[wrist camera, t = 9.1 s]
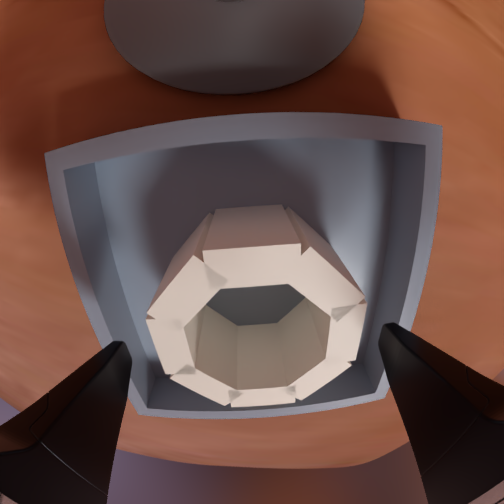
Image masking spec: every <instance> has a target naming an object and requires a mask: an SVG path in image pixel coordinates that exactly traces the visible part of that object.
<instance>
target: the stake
mask: <svg viewBox="0 0 504 504" xmlns="http://www.w3.org/2000/svg"><path fill="white" fill-rule="evenodd" d="M364 3H365V0H105V2H104V20H105V25H106V29H107V32H108V35H109V37H110V40H111V41H112V43H113V45H114V46H115V48H116V50H117V51H118V52H119V53H120V54H121V55H122V57H123V58H124V59H125V60H126V61H127V62H129V63H130V64H131V65H132V66H134V67H135V68H136V69H137V70H139V71H141V72H142V73H144V74H146V75H148V76H149V77H151V78H153V79H155V80H157V81H160V82H162V83H164V84H167V85H169V86H172V87H175V88H179V89H182V90H186V91H191V92H197V93H202V94H215V95H241V94H249V93H258V92H263V91H267V90H272V89H277V88H280V87H283V86H286V85H289V84H292V83H295V82H297V81H299V80H301V79H303V78H306V77H308V76H310V75H311V74H313V73H315V72H316V71H318V70H320V69H322V68H323V67H324V66H326V65H327V64H328V63H330V62H331V61H332V60H334V59H335V58H336V57H337V56H339V55H340V54H341V52H342V51H343V50H344V49H345V48H346V47H347V46H348V45H349V44H350V42H351V41H352V39H353V38H354V36H355V35H356V33H357V31H358V29H359V26H360V24H361V21H362V17H363V13H364Z"/></svg>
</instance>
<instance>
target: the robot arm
mask: <svg viewBox="0 0 504 504" xmlns="http://www.w3.org/2000/svg"><path fill="white" fill-rule="evenodd" d="M378 347H379V351H380V354H381V358H382V361H383V365H384V369H385V372H386V376H387V380H388V383H389V385H390V388H391V391H392V393H393V396H394V398H395V401H396V404H397V406H398V409H399V412H400V415H401V417H402V420H403V423H404V426H405V429H406V431H407V434H408V437H409V440H410V443H411V446H412V449H413V452H414V455H415V458H416V461H417V465H418V468H419V471H420V475H421V479H422V482H423V486H424V489H425V493H426V497H427V500H428V504H504V386H503V385H501V384H499V383H497V382H495V381H493V380H491V379H489V378H487V377H485V376H483V375H482V374H480V373H478V372H476V371H475V370H473V369H471V368H470V367H468V366H466V365H465V364H463V363H461V362H460V361H458V360H457V359H455V358H453V357H452V356H450V355H448V354H447V353H445V352H443V351H442V350H440V349H438V348H437V347H435V346H433V345H432V344H430V343H428V342H427V341H425V340H423V339H422V338H420V337H418V336H417V335H415V334H413V333H412V332H410V331H408V330H407V329H405V328H403V327H402V326H400V325H398V324H397V323H395V322H390V323H385V324H383V326H382V328H381V332H380V336H379V340H378ZM131 369H132V357H131V354H130V352H129V350H128V347H127V345H126V343H125V342H124V341H116V340H115V341H112V342H111V343H110V344H108V345H107V346H106V347H105V348H103V349H102V350H101V351H99V352H98V353H97V354H96V355H94V356H93V357H92V358H91V359H89V360H88V361H87V362H85V363H84V364H83V365H82V366H80V367H79V368H78V369H77V370H75V371H74V372H73V373H71V374H70V375H69V376H68V377H66V378H65V379H64V380H63V381H61V382H60V383H59V384H58V385H56V386H55V387H54V388H53V389H51V390H50V391H49V393H46V394H45V395H44V396H43V397H41V398H40V399H39V400H37V401H36V402H35V403H33V404H32V405H31V406H29V407H28V408H26V409H25V410H24V411H22V412H21V413H19V414H18V415H16V416H15V417H13V418H12V419H10V420H9V421H7V422H6V423H4V424H2V425H1V426H0V504H106V503H107V497H108V496H107V495H108V489H109V483H110V477H111V471H112V465H113V461H114V456H115V450H116V446H117V441H118V436H119V432H120V427H121V423H122V418H123V414H124V410H125V406H126V402H127V397H128V390H129V383H130V376H131Z"/></svg>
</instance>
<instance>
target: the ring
mask: <svg viewBox="0 0 504 504" xmlns="http://www.w3.org/2000/svg"><path fill="white" fill-rule="evenodd" d="M280 284H289V285H291V286H292V287H293V288H295V289H296V290H297V291H298V292H300V293H301V294H302V295H304V296H305V298H304V299H303V300H302V301H301V302H300V303H299V304H298V305H297V306H296V307H295V308H293V309H292V310H291V311H290V312H289V313H288V314H287V315H286V316H284V317H283V318H282V319H281V320H280V321H279V322H278V323H271V324H258V325H243V326H237V325H236V324H234V323H233V322H231V321H229V320H228V319H226V318H225V317H223V316H222V315H220V314H219V313H217V312H216V311H214V310H213V309H211V308H210V307H208V306H207V305H206V303H207V302H208V301H209V300H210V299H211V298H212V297H213V296H214V295H215V294H216V293H217V292H218V291H219V290H220V289H225V288H240V287H254V286H267V285H280ZM364 298H365V295H364V294H363V292H362V291H361V289H360V288H359V286H358V285H357V283H356V282H355V280H354V279H353V277H352V276H351V274H350V273H349V271H348V270H347V268H346V267H345V265H344V264H343V262H342V261H341V259H340V258H339V256H338V255H337V253H336V252H335V251H334V249H333V248H332V246H331V245H330V244H329V243H328V242H327V241H326V240H324V239H323V238H322V237H321V236H320V235H319V234H318V233H317V232H316V231H315V230H314V229H313V228H312V227H310V226H309V225H308V224H307V223H306V222H305V221H304V220H303V219H302V218H301V217H299V216H298V215H297V214H296V213H295V212H294V211H293V210H292V209H291V208H289V207H287V208H286V210H284V208H283V206H282V204H279V205H263V206H249V207H236V208H224V209H216V210H215V213H214V215H212V214H211V213H210V212H209V214H208V215H207V216H206V217H205V218H204V220H203V221H202V222H201V223H200V224H199V226H198V227H197V228H196V229H195V231H194V232H193V233H192V234H191V235H190V237H189V238H188V239H187V240H186V242H185V243H184V244H183V245H182V247H181V248H180V249H179V250H178V252H177V253H176V254H175V255H174V257H173V258H172V260H171V262H170V264H169V266H168V268H167V270H166V272H165V274H164V276H163V279H162V281H161V283H160V285H159V287H158V289H157V291H156V293H155V295H154V297H153V300H152V302H151V304H150V306H149V308H148V310H147V314H148V315H147V317H146V319H145V320H146V323H147V325H148V328H149V331H150V334H151V337H152V340H153V343H154V345H155V348H156V351H157V354H158V356H159V359H160V361H161V364H162V367H163V369H164V372H165V374H171V376H170V379H172V380H173V381H175V382H177V383H179V384H181V385H183V386H185V387H187V388H189V389H191V390H192V391H194V392H196V393H198V394H200V395H202V396H205V397H207V398H209V399H211V400H213V401H215V402H217V403H219V404H221V405H224V406H226V405H227V404H229V403H231V407H249V406H264V405H277V404H287V403H295V398H297V399H299V400H303V399H304V398H306V397H308V396H309V395H311V394H312V393H314V392H315V391H317V390H318V389H320V388H321V387H322V386H324V385H325V384H327V383H328V382H330V381H331V380H332V379H334V378H335V377H337V376H338V375H339V374H341V373H342V372H343V371H345V370H346V369H348V368H349V367H350V366H352V365H351V362H350V361H354V360H356V356H357V352H358V347H359V343H360V338H361V334H362V329H363V324H364V319H365V314H366V308H367V302H366V300H365V299H364Z"/></svg>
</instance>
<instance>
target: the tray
mask: <svg viewBox="0 0 504 504" xmlns="http://www.w3.org/2000/svg"><path fill="white" fill-rule="evenodd" d="M44 155H45V162H46V169H47V175H48V181H49V187H50V192H51V197H52V202H53V207H54V211H55V215H56V220H57V224H58V228H59V232H60V235H61V239H62V243H63V246H64V250H65V253H66V256H67V260H68V263H69V266H70V269H71V272H72V275H73V278H74V281H75V284H76V286H77V289H78V292H79V295H80V297H81V300H82V302H83V305H84V308H85V310H86V313H87V315H88V317H89V320H90V322H91V325H92V327H93V329H94V331H95V334H96V336H97V338H98V340H99V342H100V345H101V347H102V349H103V348H105V347H106V346H107V345H108V344H110V343H111V342H112V341H115V340H116V341H124V342H125V343H126V345H127V347H128V350H129V352H130V354H131V357H132V369H131V376H130V383H129V390H128V398H129V399H130V401H131V403H132V404H133V406H134V408H135V409H136V411H137V413H138V414H139V415H146V416H157V417H170V418H189V419H242V418H261V417H274V416H285V415H294V414H303V413H310V412H317V411H324V410H330V409H336V408H341V407H347V406H352V405H357V404H361V403H366V402H370V401H375V400H379V399H383V398H385V396H386V394H387V391H388V389H389V387H390V385H389V383H388V380H387V376H386V372H385V369H384V365H383V361H382V358H381V354H380V351H379V347H378V340H379V336H380V332H381V328H382V326H383V324H385V323H390V322H395V323H397V324H398V325H400V326H402V327H403V328H405V329H407V330H408V331H410V330H411V327H412V324H413V321H414V318H415V314H416V311H417V307H418V304H419V300H420V296H421V293H422V289H423V285H424V281H425V276H426V272H427V267H428V263H429V258H430V253H431V248H432V242H433V236H434V230H435V224H436V217H437V209H438V201H439V191H440V180H441V164H442V126H441V125H436V124H430V123H425V122H419V121H412V120H405V119H398V118H390V117H381V116H371V115H360V114H345V113H323V112H273V113H250V114H235V115H223V116H213V117H204V118H196V119H188V120H181V121H174V122H168V123H162V124H156V125H150V126H145V127H140V128H135V129H130V130H126V131H121V132H117V133H112V134H108V135H104V136H100V137H96V138H93V139H89V140H85V141H82V142H78V143H75V144H71V145H68V146H65V147H62V148H59V149H55V150H52V151H49V152H47V153H44ZM279 204H282V206H283V208H284V210H286V208H287V207H289V208H291V209H292V210H293V211H294V212H295V213H296V214H297V215H298V216H299V217H301V218H302V219H303V220H304V221H305V222H306V223H307V224H308V225H309V226H310V227H312V228H313V229H314V230H315V231H316V232H317V233H318V234H319V235H320V236H321V237H322V238H323V239H324V240H326V241H327V242H328V243H329V244H330V245H331V246H332V248H333V249H334V251H335V252H336V253H337V255H338V256H339V258H340V259H341V261H342V262H343V264H344V265H345V267H346V268H347V270H348V271H349V273H350V274H351V276H352V277H353V279H354V280H355V282H356V283H357V285H358V286H359V288H360V289H361V291H362V292H363V294H364V295H365V298H364V299H365V300H366V302H367V308H366V314H365V319H364V324H363V329H362V334H361V338H360V343H359V347H358V352H357V356H356V360H354V361H350V362H351V365H352V366H350V367H349V368H348V369H346V370H345V371H343V372H342V373H341V374H339V375H338V376H337V377H335V378H334V379H332V380H331V381H330V382H328V383H327V384H325V385H324V386H322V387H321V388H320V389H318V390H317V391H315V392H314V393H312V394H311V395H309V396H308V397H306V398H304V399H303V400H299V399H297V398H295V403H287V404H277V405H264V406H249V407H231V403H229V404H227V405H226V406H224V405H221V404H219V403H217V402H215V401H213V400H211V399H209V398H207V397H205V396H202V395H200V394H198V393H196V392H194V391H192V390H191V389H189V388H187V387H185V386H183V385H181V384H179V383H177V382H175V381H173V380H172V379H170V376H171V374H165V372H164V369H163V367H162V364H161V361H160V359H159V356H158V354H157V351H156V348H155V345H154V343H153V340H152V337H151V334H150V331H149V328H148V325H147V323H146V320H145V319H146V317H147V315H148V314H147V310H148V308H149V306H150V304H151V302H152V300H153V297H154V295H155V293H156V291H157V289H158V287H159V285H160V283H161V281H162V279H163V276H164V274H165V272H166V270H167V268H168V266H169V264H170V262H171V260H172V258H173V257H174V255H175V254H176V253H177V252H178V250H179V249H180V248H181V247H182V245H183V244H184V243H185V242H186V240H187V239H188V238H189V237H190V235H191V234H192V233H193V232H194V231H195V229H196V228H197V227H198V226H199V224H200V223H201V222H202V221H203V220H204V218H205V217H206V216H207V215H208V214H209V212H210V213H211V214H212V215H214V213H215V210H216V209H224V208H236V207H249V206H263V205H279ZM304 298H305V296H304V295H302V294H301V293H300V292H298V291H297V290H296V289H295V288H293V287H292V286H291V285H289V284H280V285H267V286H254V287H240V288H225V289H220V290H219V291H218V292H217V293H216V294H215V295H214V296H213V297H212V298H211V299H210V300H209V301H208V302H207V303H206V305H207V306H208V307H210V308H211V309H213V310H214V311H216V312H217V313H219V314H220V315H222V316H223V317H225V318H226V319H228V320H229V321H231V322H233V323H234V324H236V325H237V326H243V325H258V324H271V323H278V322H279V321H280V320H281V319H282V318H283V317H284V316H286V315H287V314H288V313H289V312H290V311H291V310H292V309H293V308H295V307H296V306H297V305H298V304H299V303H300V302H301V301H302V300H303V299H304Z"/></svg>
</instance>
